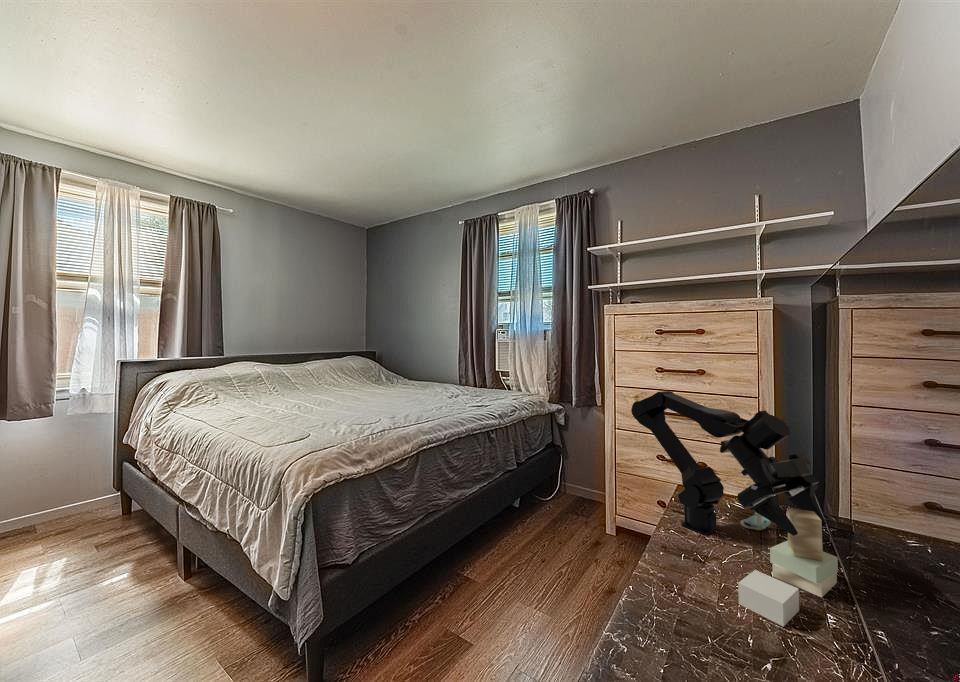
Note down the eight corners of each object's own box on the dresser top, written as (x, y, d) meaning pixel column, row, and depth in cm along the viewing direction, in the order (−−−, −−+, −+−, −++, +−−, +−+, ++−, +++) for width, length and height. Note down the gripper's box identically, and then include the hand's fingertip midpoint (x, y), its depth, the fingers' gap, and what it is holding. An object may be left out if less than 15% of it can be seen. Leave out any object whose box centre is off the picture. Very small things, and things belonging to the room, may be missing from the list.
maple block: (794, 555, 78) (792, 516, 78) (788, 545, 82) (786, 507, 82) (822, 561, 76) (821, 520, 76) (815, 550, 80) (813, 511, 80)
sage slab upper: (770, 562, 81) (769, 547, 81) (791, 552, 84) (791, 538, 84) (816, 583, 74) (815, 568, 74) (837, 572, 77) (837, 557, 77)
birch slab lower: (772, 578, 80) (772, 564, 80) (789, 565, 84) (788, 552, 84) (822, 599, 73) (821, 584, 73) (836, 584, 78) (836, 570, 78)
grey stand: (738, 603, 72) (738, 582, 72) (755, 590, 76) (755, 569, 76) (783, 626, 66) (782, 603, 66) (799, 610, 70) (798, 588, 70)
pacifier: (735, 527, 101) (762, 535, 96) (734, 503, 101) (760, 510, 97) (747, 519, 106) (773, 526, 101) (745, 496, 106) (771, 502, 101)
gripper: (750, 446, 79) (814, 523, 69) (807, 436, 86) (873, 504, 75) (715, 472, 86) (768, 545, 76) (770, 461, 93) (826, 526, 83)
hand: (810, 530), depth 77 cm, fingers open, 9 cm apart
